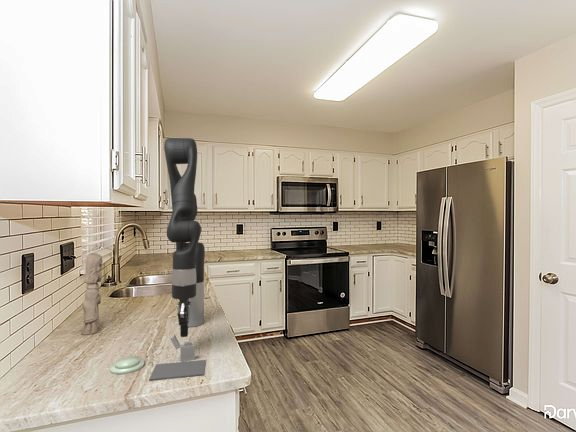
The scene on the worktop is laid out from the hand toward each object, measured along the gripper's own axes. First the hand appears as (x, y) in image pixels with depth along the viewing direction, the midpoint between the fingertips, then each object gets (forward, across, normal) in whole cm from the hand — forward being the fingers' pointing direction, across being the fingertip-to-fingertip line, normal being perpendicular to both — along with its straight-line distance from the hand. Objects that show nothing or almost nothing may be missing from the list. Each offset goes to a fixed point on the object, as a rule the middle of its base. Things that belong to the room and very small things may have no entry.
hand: (184, 336), depth 102 cm
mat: (+5, +13, 0) cm, 14 cm away
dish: (+5, +7, -15) cm, 17 cm away
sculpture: (+5, -28, -37) cm, 47 cm away
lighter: (+5, +6, 0) cm, 8 cm away
